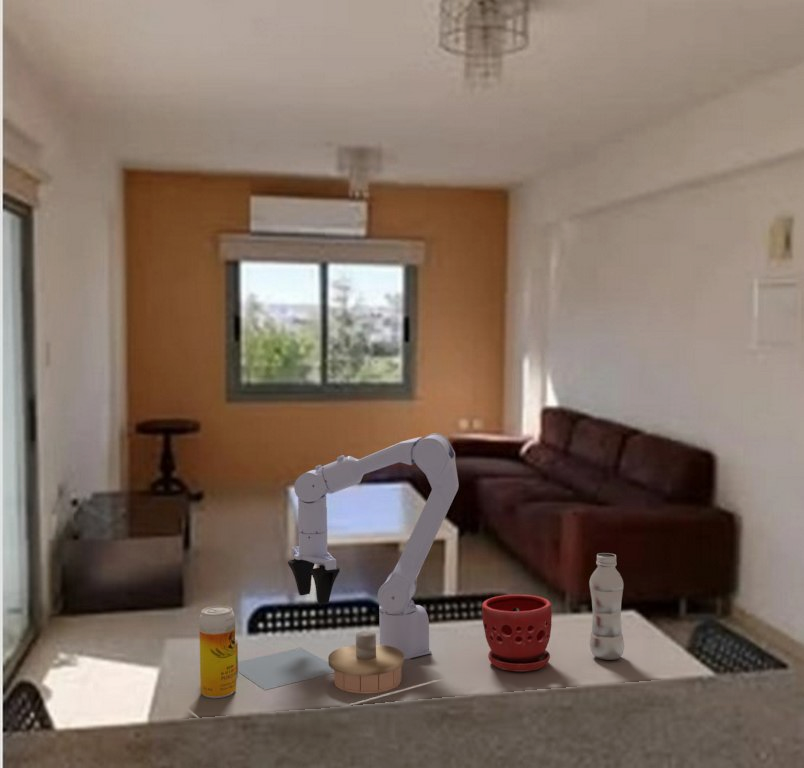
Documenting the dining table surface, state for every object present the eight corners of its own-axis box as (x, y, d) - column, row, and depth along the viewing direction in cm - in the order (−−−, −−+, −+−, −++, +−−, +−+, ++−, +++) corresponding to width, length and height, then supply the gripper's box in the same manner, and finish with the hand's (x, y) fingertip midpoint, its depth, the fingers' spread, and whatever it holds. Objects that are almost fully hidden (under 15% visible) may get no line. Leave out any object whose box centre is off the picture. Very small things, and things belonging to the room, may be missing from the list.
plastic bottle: (605, 666, 171) (605, 560, 170) (582, 655, 177) (582, 553, 176) (631, 660, 174) (631, 556, 173) (608, 649, 180) (608, 549, 179)
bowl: (377, 667, 172) (376, 646, 172) (414, 686, 162) (413, 664, 162) (322, 681, 165) (321, 659, 165) (357, 701, 155) (357, 679, 155)
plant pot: (548, 652, 179) (547, 592, 178) (555, 677, 165) (554, 612, 165) (481, 651, 179) (481, 591, 179) (483, 676, 166) (482, 611, 166)
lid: (379, 644, 173) (379, 618, 173) (418, 665, 161) (418, 637, 161) (315, 658, 166) (315, 631, 166) (351, 680, 154) (350, 652, 154)
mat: (301, 649, 182) (300, 647, 182) (342, 672, 169) (342, 670, 169) (227, 666, 173) (226, 664, 173) (265, 692, 160) (265, 689, 160)
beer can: (228, 702, 155) (226, 615, 155) (195, 700, 156) (193, 614, 156) (241, 689, 161) (239, 605, 161) (209, 686, 162) (207, 604, 162)
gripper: (277, 527, 184) (279, 594, 185) (313, 539, 172) (314, 610, 173) (308, 523, 188) (309, 588, 189) (345, 535, 176) (346, 604, 177)
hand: (313, 598), depth 181 cm, fingers open, 7 cm apart
